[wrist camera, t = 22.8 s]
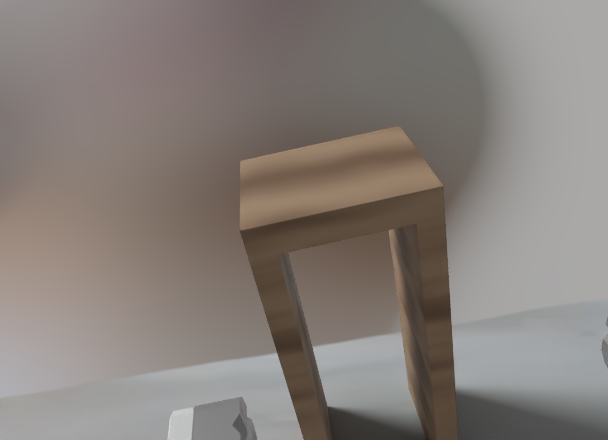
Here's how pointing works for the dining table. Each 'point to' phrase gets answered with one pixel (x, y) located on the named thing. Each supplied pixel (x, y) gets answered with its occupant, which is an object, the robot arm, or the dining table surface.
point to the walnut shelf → (345, 225)
